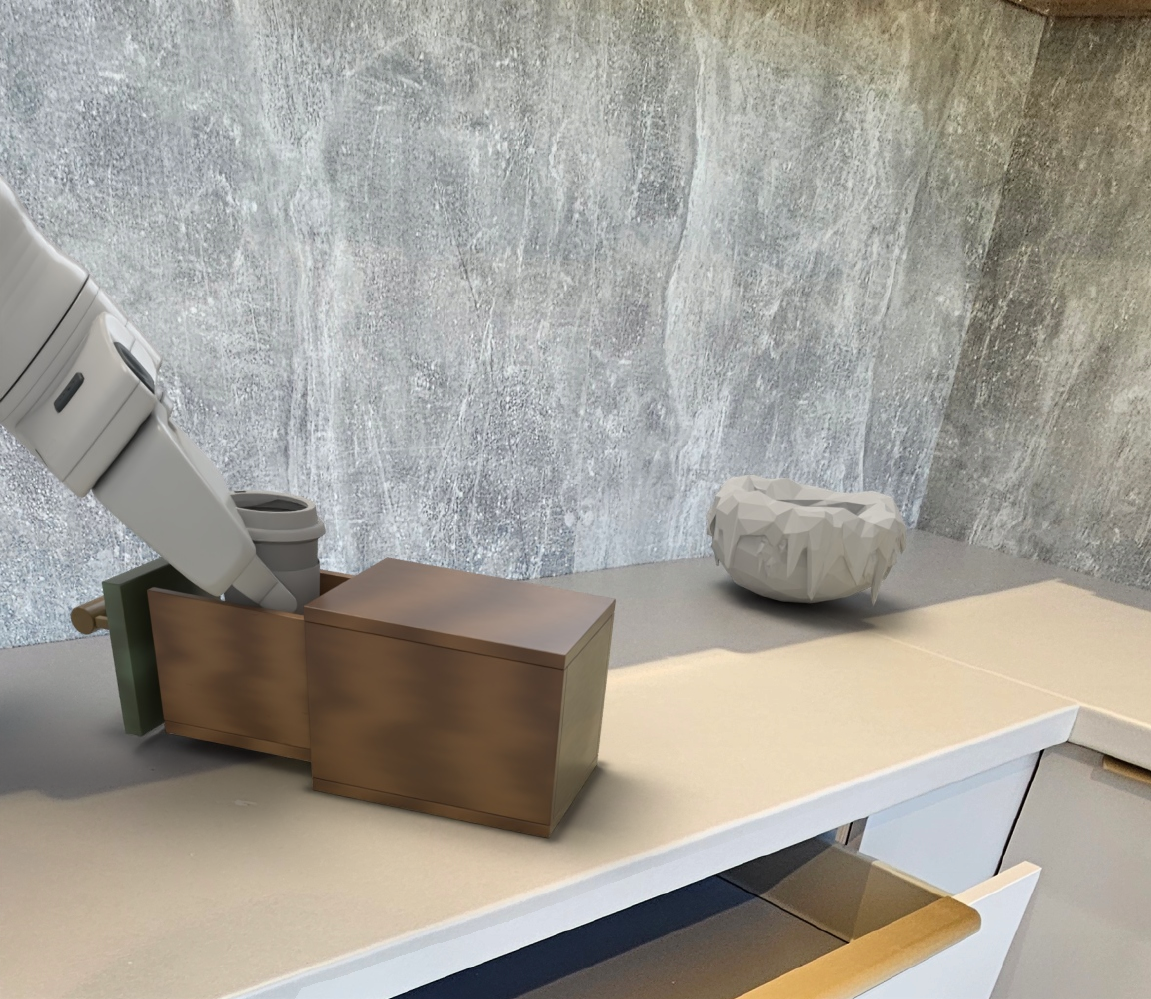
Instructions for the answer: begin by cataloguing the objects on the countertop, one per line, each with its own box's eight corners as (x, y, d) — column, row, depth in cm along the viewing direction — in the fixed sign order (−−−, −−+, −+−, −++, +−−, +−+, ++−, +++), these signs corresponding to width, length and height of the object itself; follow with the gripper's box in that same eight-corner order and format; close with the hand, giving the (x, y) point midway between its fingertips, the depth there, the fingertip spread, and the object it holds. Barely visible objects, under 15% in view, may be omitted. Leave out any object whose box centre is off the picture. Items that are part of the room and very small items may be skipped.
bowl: (679, 605, 115) (697, 487, 108) (706, 562, 130) (724, 455, 123) (886, 642, 113) (917, 524, 106) (889, 593, 128) (917, 487, 121)
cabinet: (312, 790, 73) (302, 605, 66) (387, 723, 83) (386, 556, 76) (548, 838, 72) (565, 654, 64) (597, 764, 81) (616, 598, 74)
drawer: (63, 721, 75) (34, 568, 69) (158, 668, 84) (140, 529, 78) (336, 776, 73) (331, 624, 67) (404, 716, 82) (404, 577, 76)
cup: (294, 687, 81) (282, 485, 73) (353, 716, 78) (348, 509, 70) (205, 703, 77) (181, 492, 69) (264, 735, 74) (247, 518, 66)
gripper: (51, 407, 71) (231, 588, 81) (51, 479, 57) (268, 687, 67) (116, 322, 69) (292, 517, 79) (131, 375, 56) (342, 604, 65)
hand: (281, 596), depth 73 cm, fingers closed on cup, 6 cm apart
